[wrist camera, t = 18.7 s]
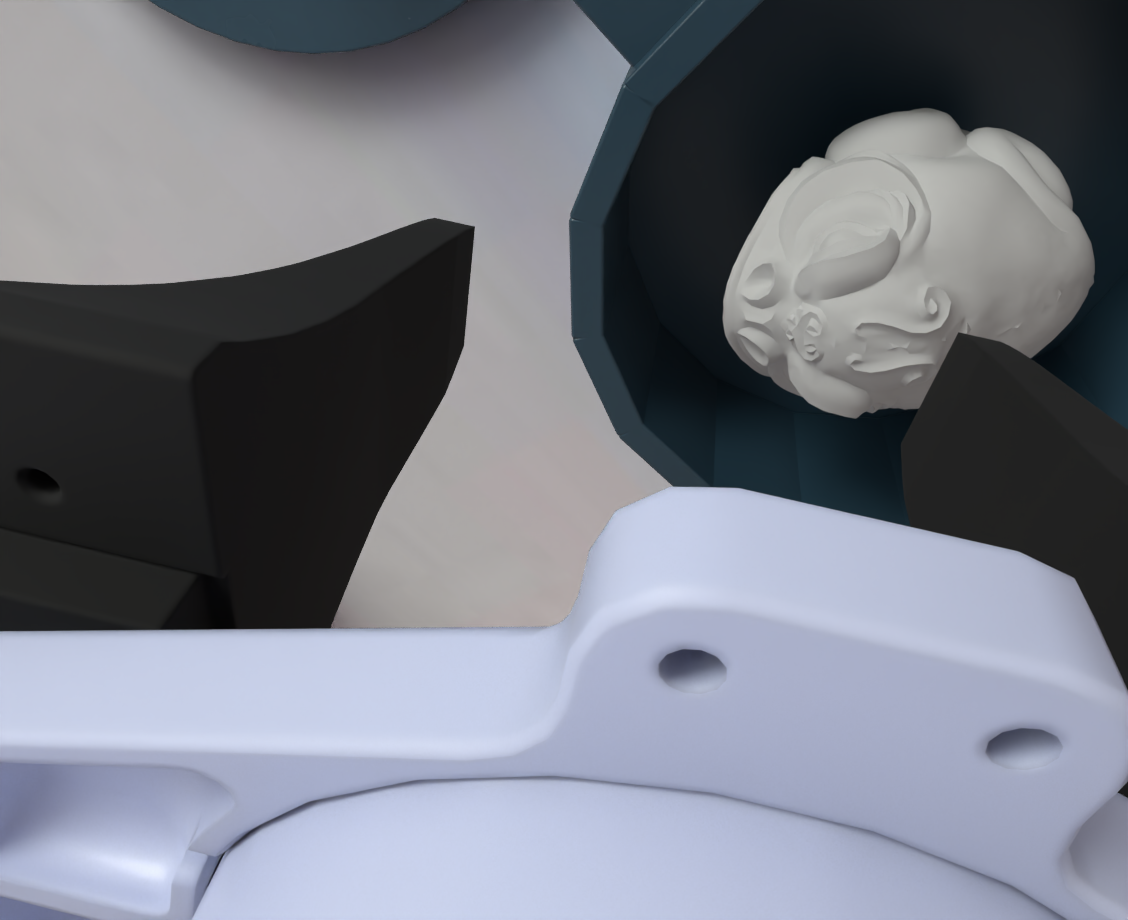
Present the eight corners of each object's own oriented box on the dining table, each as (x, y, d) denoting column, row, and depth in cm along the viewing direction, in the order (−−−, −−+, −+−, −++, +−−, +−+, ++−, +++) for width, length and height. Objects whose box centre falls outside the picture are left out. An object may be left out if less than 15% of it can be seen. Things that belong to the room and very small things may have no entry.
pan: (894, -488, 14) (967, -633, 9) (1359, 293, 20) (1532, 423, 15) (418, 108, 21) (334, 181, 16) (867, 548, 27) (892, 686, 23)
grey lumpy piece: (731, 75, 19) (728, 178, 13) (1071, 61, 17) (1222, 168, 12) (721, 318, 22) (716, 478, 17) (1002, 321, 21) (1094, 495, 16)
